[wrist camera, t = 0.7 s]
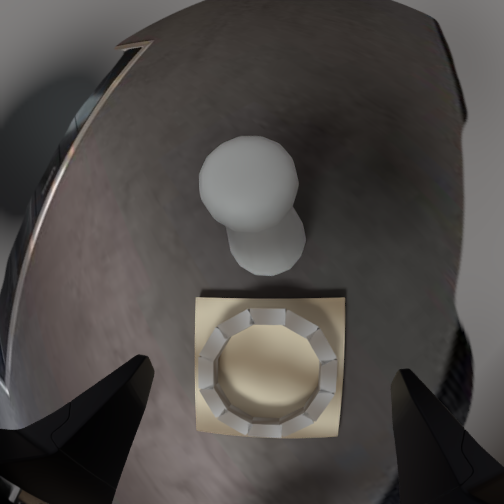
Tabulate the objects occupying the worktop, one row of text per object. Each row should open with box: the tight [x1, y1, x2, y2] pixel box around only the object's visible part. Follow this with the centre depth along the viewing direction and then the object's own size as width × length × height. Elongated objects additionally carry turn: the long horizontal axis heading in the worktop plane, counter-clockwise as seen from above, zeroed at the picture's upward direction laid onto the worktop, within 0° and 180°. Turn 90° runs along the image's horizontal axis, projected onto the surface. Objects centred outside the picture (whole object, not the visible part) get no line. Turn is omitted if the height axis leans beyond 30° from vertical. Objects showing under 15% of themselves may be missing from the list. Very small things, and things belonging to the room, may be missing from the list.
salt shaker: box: [199, 136, 306, 276], centre depth 17 cm, size 6×6×13 cm
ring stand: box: [195, 297, 345, 438], centre depth 20 cm, size 12×12×2 cm
